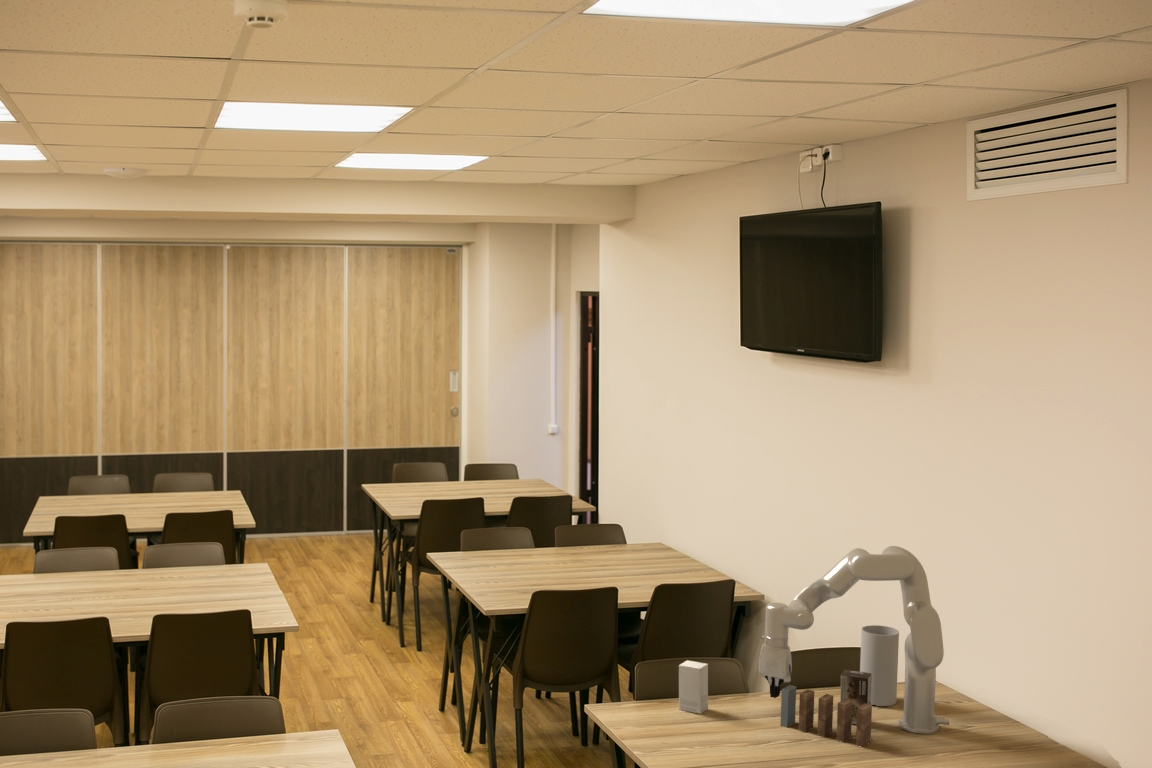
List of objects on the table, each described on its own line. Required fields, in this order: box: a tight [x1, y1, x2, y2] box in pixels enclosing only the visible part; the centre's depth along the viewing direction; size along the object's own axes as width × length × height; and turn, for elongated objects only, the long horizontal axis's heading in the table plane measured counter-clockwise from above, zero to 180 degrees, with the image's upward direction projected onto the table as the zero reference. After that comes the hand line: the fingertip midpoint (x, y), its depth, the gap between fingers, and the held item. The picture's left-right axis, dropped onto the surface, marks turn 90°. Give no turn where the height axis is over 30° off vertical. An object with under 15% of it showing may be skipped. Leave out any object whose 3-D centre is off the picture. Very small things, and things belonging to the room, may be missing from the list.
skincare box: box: [678, 659, 709, 715], centre depth 373 cm, size 8×7×16 cm
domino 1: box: [798, 689, 815, 733], centre depth 358 cm, size 2×6×12 cm, turn 142°
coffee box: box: [839, 669, 871, 725], centre depth 365 cm, size 9×6×16 cm
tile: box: [780, 684, 797, 728], centre depth 362 cm, size 2×6×12 cm, turn 142°
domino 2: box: [816, 693, 834, 738], centre depth 354 cm, size 2×6×12 cm, turn 142°
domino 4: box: [855, 703, 873, 748], centre depth 346 cm, size 2×6×12 cm, turn 142°
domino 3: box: [835, 699, 853, 743], centre depth 350 cm, size 2×6×12 cm, turn 142°
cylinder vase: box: [859, 624, 900, 707], centre depth 385 cm, size 12×12×25 cm
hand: (774, 696), depth 365 cm, fingers closed
